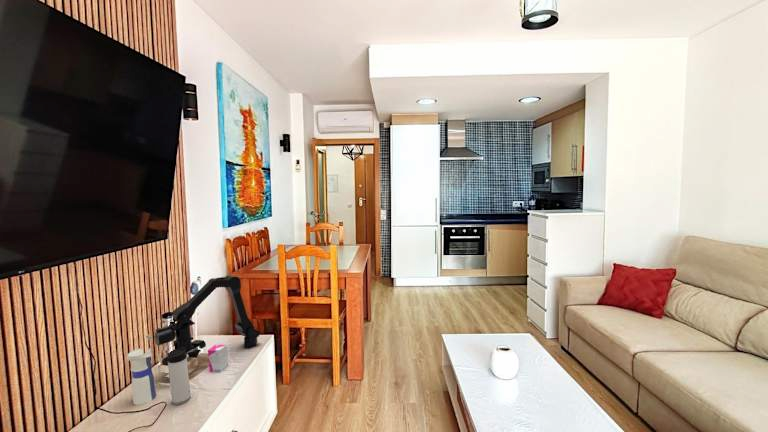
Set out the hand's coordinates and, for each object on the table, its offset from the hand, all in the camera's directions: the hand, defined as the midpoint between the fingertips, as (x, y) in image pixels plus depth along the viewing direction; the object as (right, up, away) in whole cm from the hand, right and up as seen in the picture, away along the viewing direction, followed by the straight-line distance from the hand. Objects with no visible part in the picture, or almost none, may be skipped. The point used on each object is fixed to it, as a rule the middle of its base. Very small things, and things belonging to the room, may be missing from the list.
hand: (186, 370), depth 154 cm
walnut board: (+1, -1, +5) cm, 5 cm away
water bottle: (-7, -4, -16) cm, 18 cm away
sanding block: (0, 0, 0) cm, 0 cm away
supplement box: (+14, -1, +1) cm, 14 cm away
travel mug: (+9, -3, -19) cm, 21 cm away
